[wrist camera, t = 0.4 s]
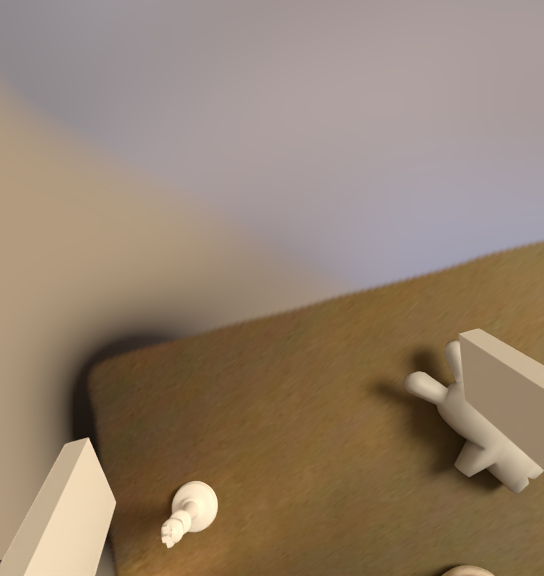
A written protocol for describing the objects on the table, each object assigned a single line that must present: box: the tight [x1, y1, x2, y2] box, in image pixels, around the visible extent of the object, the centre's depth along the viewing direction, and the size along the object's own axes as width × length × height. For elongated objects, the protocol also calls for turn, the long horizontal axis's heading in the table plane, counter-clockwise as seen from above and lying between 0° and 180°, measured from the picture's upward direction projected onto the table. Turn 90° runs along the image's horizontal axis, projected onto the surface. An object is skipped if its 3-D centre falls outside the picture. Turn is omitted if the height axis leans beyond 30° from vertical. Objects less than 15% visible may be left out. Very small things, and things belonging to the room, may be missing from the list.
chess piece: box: [161, 481, 218, 548], centre depth 39 cm, size 5×5×10 cm
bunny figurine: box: [403, 340, 544, 494], centre depth 42 cm, size 10×5×15 cm
